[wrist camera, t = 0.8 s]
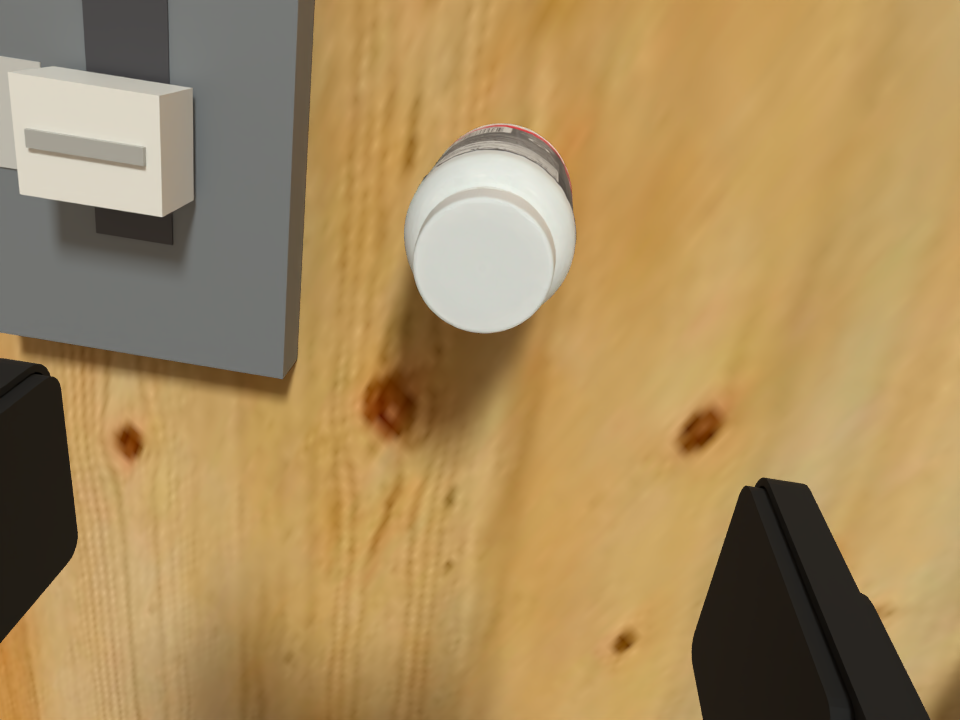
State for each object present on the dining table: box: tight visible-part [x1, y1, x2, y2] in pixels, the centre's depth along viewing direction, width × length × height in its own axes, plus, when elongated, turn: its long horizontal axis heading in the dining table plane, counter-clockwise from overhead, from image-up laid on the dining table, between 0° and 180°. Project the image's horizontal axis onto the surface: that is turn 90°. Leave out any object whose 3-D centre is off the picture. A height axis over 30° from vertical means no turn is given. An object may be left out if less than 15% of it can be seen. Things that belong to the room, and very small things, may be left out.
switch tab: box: [8, 66, 194, 217], centre depth 28 cm, size 4×5×3 cm
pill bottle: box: [404, 123, 576, 333], centre depth 27 cm, size 5×5×10 cm
